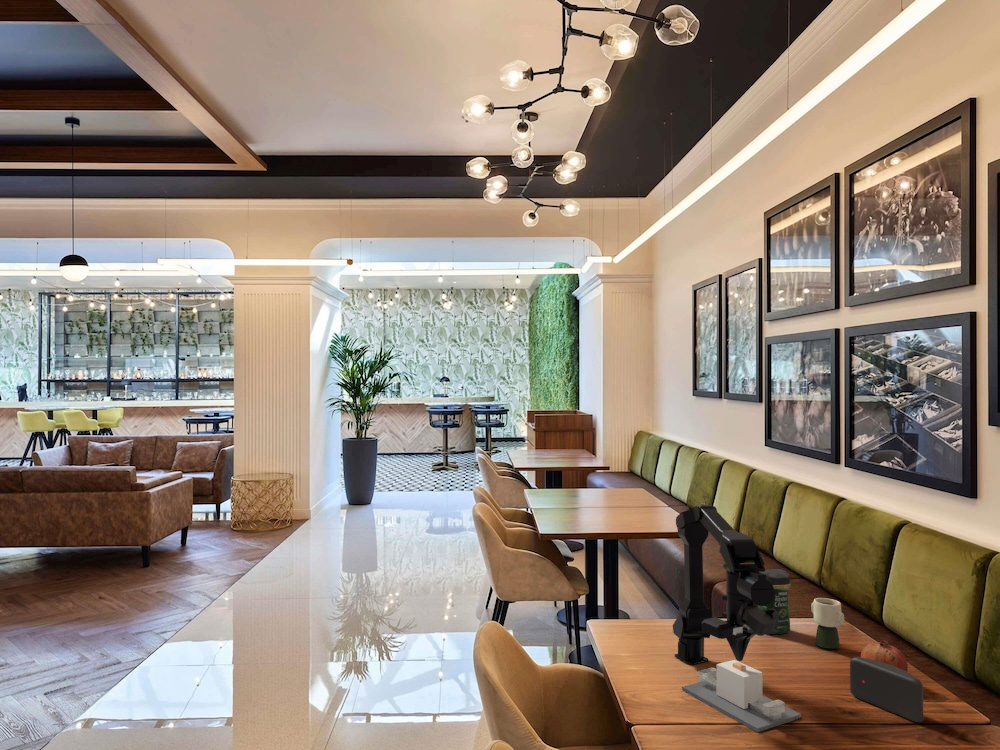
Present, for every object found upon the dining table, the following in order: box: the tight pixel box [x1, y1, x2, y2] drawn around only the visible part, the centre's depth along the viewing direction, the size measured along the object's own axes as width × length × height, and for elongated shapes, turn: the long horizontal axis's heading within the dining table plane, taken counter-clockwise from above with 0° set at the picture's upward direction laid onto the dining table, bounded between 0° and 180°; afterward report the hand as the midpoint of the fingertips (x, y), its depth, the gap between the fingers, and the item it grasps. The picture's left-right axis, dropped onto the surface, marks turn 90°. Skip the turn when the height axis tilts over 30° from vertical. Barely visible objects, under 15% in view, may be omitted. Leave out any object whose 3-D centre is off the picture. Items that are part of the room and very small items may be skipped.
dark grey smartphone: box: [849, 656, 924, 724], centre depth 148 cm, size 16×5×9 cm, turn 30°
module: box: [716, 659, 763, 709], centre depth 149 cm, size 6×8×8 cm
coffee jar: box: [758, 568, 791, 635], centre depth 197 cm, size 10×8×19 cm
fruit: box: [860, 639, 909, 672], centre depth 162 cm, size 11×10×10 cm
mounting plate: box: [681, 678, 802, 733], centre depth 148 cm, size 14×22×1 cm, turn 28°
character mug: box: [810, 597, 845, 650], centre depth 184 cm, size 11×7×13 cm, turn 21°
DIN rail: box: [697, 667, 786, 721], centre depth 149 cm, size 5×21×3 cm, turn 28°
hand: (739, 660), depth 149 cm, fingers closed
